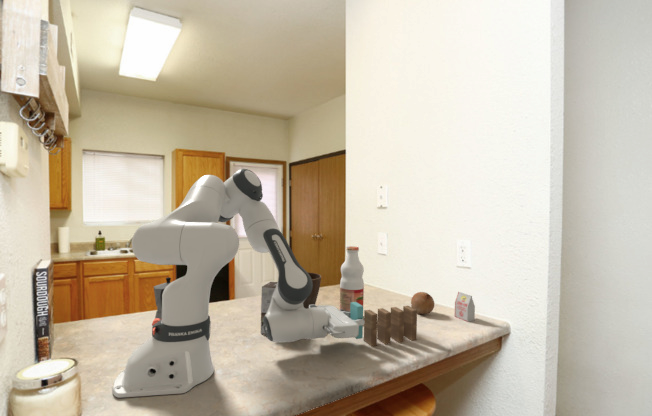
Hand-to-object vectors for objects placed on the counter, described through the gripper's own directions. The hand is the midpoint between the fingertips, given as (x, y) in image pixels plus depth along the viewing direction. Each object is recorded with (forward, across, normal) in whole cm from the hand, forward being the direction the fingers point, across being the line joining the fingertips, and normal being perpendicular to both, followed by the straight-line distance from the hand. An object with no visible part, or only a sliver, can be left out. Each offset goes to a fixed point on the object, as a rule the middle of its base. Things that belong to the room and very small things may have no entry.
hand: (358, 318), depth 106 cm
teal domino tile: (-1, 0, +6) cm, 6 cm away
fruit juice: (+9, +25, +9) cm, 28 cm away
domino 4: (+19, 0, +8) cm, 21 cm away
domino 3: (+14, 0, +8) cm, 16 cm away
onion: (+40, +20, +9) cm, 46 cm away
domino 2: (+9, 0, +8) cm, 12 cm away
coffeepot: (-58, +32, +9) cm, 67 cm away
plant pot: (-9, +33, +9) cm, 35 cm away
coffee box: (-23, +21, +9) cm, 32 cm away
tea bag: (+52, +9, +9) cm, 54 cm away
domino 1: (+4, 0, +8) cm, 9 cm away
